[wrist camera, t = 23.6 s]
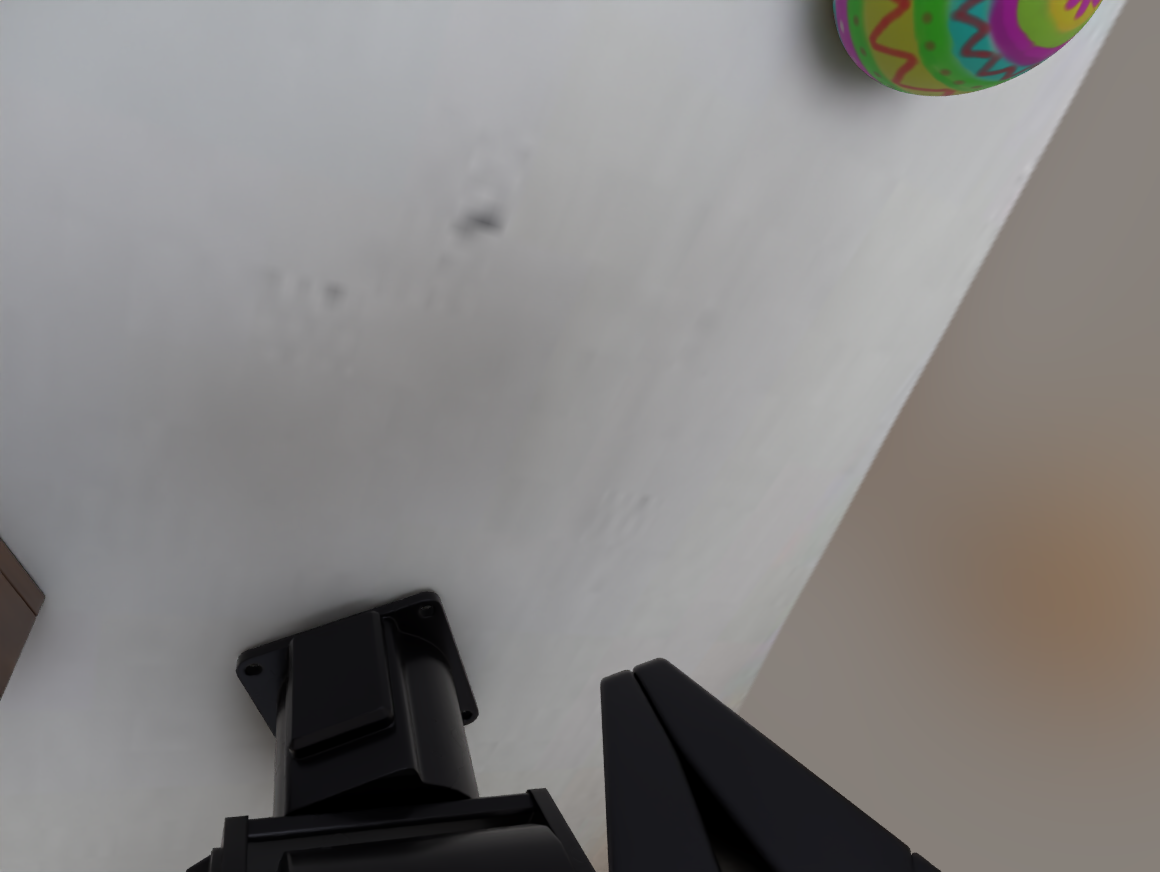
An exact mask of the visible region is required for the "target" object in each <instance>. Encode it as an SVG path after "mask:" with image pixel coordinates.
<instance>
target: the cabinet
mask: <svg viewBox="0 0 1160 872" xmlns="http://www.w3.org/2000/svg"><path fill="white" fill-rule="evenodd" d="M44 599H45V596H44V595H43V593H42V592H41V591H40V589H39V588H38V587H37V586H36V584H35V583H34V582H33V580H32V579H31V578H30V576H29V575H28V574H27V572H26V571H25V570H24V569H23V567H22V566H21V565H20V563H19V562H18V561H17V559H16V558H15V557H14V556H13V554H12V553H11V552H10V550H9V549H8V548H7V546H6V545H5V544H4V542H3V541H2V540H1V539H0V700H1V698H2V696H3V694H4V691H5V689H6V687H7V684H8V682H9V680H10V677H11V675H12V673H13V670H14V668H15V666H16V664H17V661H18V659H19V657H20V654H21V652H22V650H23V647H24V645H25V643H26V640H27V638H28V636H29V633H30V631H31V629H32V627H33V624H34V622H35V620H36V616H37V615H38V613H39V611H40V609H41V606H42V604H43V602H44Z"/></svg>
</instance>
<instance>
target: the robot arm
mask: <svg viewBox="0 0 1160 872" xmlns="http://www.w3.org/2000/svg"><path fill="white" fill-rule="evenodd" d="M424 606H431V607H430V608H428V609H421V608H423V607H424ZM251 664H258V666H254V667H253V666H249V665H251ZM236 673H237V676H238V678H239V679H240V681H241V683H242V684H243V686H244V687H245V689H246V691H247V692H248V694H249V696H250V697H251V699H252V700H253V702H254V704H255V705H256V707H257V709H258V710H259V712H260V714H261V715H262V717H263V718H264V720H265V722H266V723H267V725H268V727H269V728H270V730H271V731H272V733H273V735H274V736H275V738H276V749H275V776H274V804H273V817H269V818H258V819H248V816H238V817H227V818H225V822H224V829H223V836H222V842H221V847H220V848H213V850H212V851H211V855H209V856H208V857H206V858H205V859H203V860H201V861H200V862H198V863H197V864H195V865H193V866H192V867H190V868H189V869H187V870H186V872H595V870H594V868H593V867H592V865H591V863H590V862H589V860H588V858H587V856H586V855H585V853H584V851H583V850H582V848H581V846H580V845H579V843H578V841H577V840H576V838H575V836H574V835H573V833H572V831H571V829H570V828H569V826H568V824H567V823H566V821H565V819H564V818H563V816H562V814H561V813H560V811H559V809H558V808H557V806H556V804H555V802H554V801H553V799H552V797H551V796H550V794H549V792H548V791H547V789H546V788H541V789H530V790H527V792H526V793H522V794H512V795H501V796H491V797H479V793H478V788H477V784H476V779H475V775H474V770H473V766H472V761H471V757H470V753H469V748H468V744H467V739H466V735H465V730H464V726H465V725H468V724H470V723H472V722H473V721H474V720H476V719H477V717H478V715H479V712H478V707H477V703H476V700H475V697H474V694H473V691H472V689H471V686H470V683H469V680H468V677H467V674H466V671H465V668H464V665H463V663H462V660H461V657H460V654H459V651H458V648H457V645H456V642H455V639H454V637H453V634H452V631H451V628H450V625H449V622H448V619H447V616H446V613H445V611H444V608H443V605H442V602H441V599H440V597H439V596H438V595H437V594H436V593H434V592H422V593H419V594H416V595H413V596H410V597H407V598H404V599H401V600H398V601H395V602H392V603H389V604H386V605H383V606H380V607H377V608H374V609H371V610H368V611H365V612H362V613H358V614H355V615H352V616H349V617H346V618H343V619H340V620H337V621H334V622H331V623H328V624H325V625H322V626H319V627H316V628H313V629H310V630H307V631H304V632H301V633H298V634H295V635H292V636H289V637H286V638H283V639H280V640H277V641H274V642H271V643H268V644H265V645H262V646H259V647H256V648H253V649H250V650H247V651H245V652H243V653H242V654H241V655H240V656H239V657H238V660H237V666H236ZM600 690H601V712H602V734H603V755H604V777H605V798H606V820H607V842H608V863H609V872H941V871H940V870H939V869H937V868H936V867H935V866H933V865H932V864H931V863H929V862H928V861H927V860H926V859H924V858H923V857H922V856H921V855H919V854H918V853H912V855H911V851H910V848H909V847H908V846H907V845H906V844H904V843H903V842H902V841H901V840H899V839H898V838H897V837H895V836H894V835H893V834H891V833H890V832H889V831H888V830H886V829H885V828H884V827H882V826H881V825H880V824H879V823H877V822H876V821H875V820H873V819H872V818H871V817H869V816H868V815H867V814H866V813H864V812H863V811H862V810H860V809H859V808H858V807H857V806H855V805H854V804H852V803H851V802H850V801H849V800H847V799H846V798H845V797H844V796H842V795H841V794H840V793H838V792H837V791H836V790H835V789H833V788H832V787H831V786H829V785H828V784H827V783H825V782H824V781H823V780H822V779H820V778H819V777H818V776H816V775H815V774H814V773H813V772H811V771H810V770H809V769H807V768H806V767H805V766H803V765H802V764H801V763H800V762H798V761H797V760H796V759H794V758H793V757H792V756H790V755H789V754H788V753H787V752H785V751H784V750H783V749H781V748H780V747H779V746H777V745H776V744H775V743H774V742H772V741H771V740H770V739H768V738H767V737H766V736H765V735H763V734H762V733H760V732H759V731H758V730H757V729H755V728H754V727H753V726H751V725H750V724H749V723H748V722H746V721H745V720H744V719H743V718H741V717H740V716H739V715H737V714H736V713H735V712H734V711H732V710H731V709H730V708H728V707H727V706H726V705H724V704H723V703H722V702H721V701H719V700H718V699H717V698H715V697H714V696H713V695H711V694H710V693H709V692H708V691H706V690H705V689H704V688H702V687H701V686H700V685H699V684H697V683H696V682H695V681H693V680H692V679H691V678H689V677H688V676H687V675H686V674H684V673H683V672H682V671H680V670H679V669H678V668H677V667H675V666H674V665H673V664H671V663H670V662H669V661H667V660H666V659H663V658H656V659H653V660H650V661H648V662H645V663H642V664H640V665H637V666H635V667H634V668H633V672H631V671H630V670H624V671H621V672H618V673H615V674H613V675H610V676H607V677H605V678H603V679H602V680H601V684H600ZM464 711H465V712H464Z"/></svg>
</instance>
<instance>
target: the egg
mask: <svg viewBox="0 0 1160 872" xmlns="http://www.w3.org/2000/svg"><path fill="white" fill-rule="evenodd" d="M1101 2H1102V0H833V13H834V19H835V24H836V28H837V31H838V34H839V37H840V40H841V42H842V44H843V46H844V48H845V49H846V51H847V53H848V54H849V56H850V57H851V58H852V60H853V61H854V62H855V63H856V64H857V66H858V67H859V68H860V69H861V70H863V71H864V72H865V73H866V74H867V75H869V76H870V77H871V78H873V79H874V80H876V81H878V82H879V83H881V84H883V85H885V86H887V87H890V88H892V89H895V90H898V91H901V92H905V93H910V94H915V95H923V96H950V95H959V94H965V93H970V92H975V91H979V90H983V89H986V88H989V87H992V86H995V85H998V84H1001V83H1003V82H1006V81H1008V80H1010V79H1013V78H1015V77H1017V76H1019V75H1021V74H1023V73H1025V72H1027V71H1029V70H1030V69H1032V68H1034V67H1035V66H1037V65H1039V64H1040V63H1042V62H1043V61H1045V60H1046V59H1048V58H1049V57H1050V56H1052V55H1053V54H1054V53H1056V52H1057V51H1058V50H1059V49H1061V48H1062V47H1063V46H1064V45H1065V44H1066V43H1068V42H1069V41H1070V40H1071V39H1072V38H1073V37H1074V36H1075V35H1076V34H1077V33H1078V32H1079V31H1080V30H1081V29H1082V28H1083V26H1084V25H1085V24H1086V23H1087V22H1088V21H1089V19H1090V18H1091V17H1092V15H1093V14H1094V13H1095V11H1096V10H1097V8H1098V7H1099V5H1100V4H1101Z"/></svg>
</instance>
